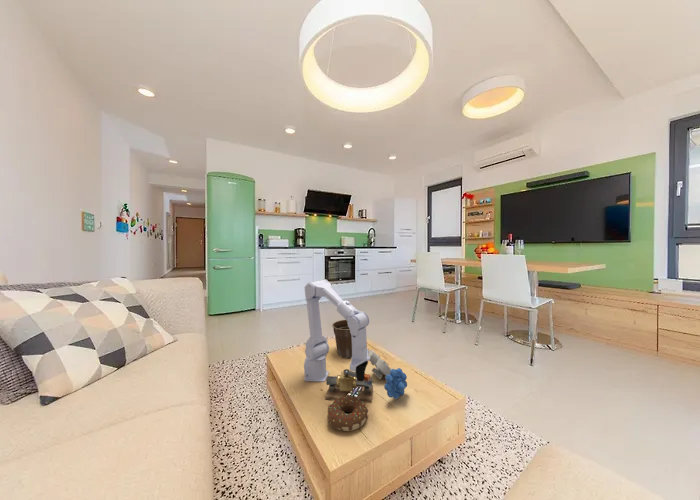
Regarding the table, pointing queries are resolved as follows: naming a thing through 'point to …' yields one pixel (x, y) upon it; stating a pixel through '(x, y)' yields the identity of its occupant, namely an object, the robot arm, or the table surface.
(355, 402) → the donut
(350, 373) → the valve lever
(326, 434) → the table surface
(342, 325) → the plant pot
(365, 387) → the pipe and valve body
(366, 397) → the walnut board
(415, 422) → the table surface
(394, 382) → the grapes
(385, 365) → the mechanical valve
